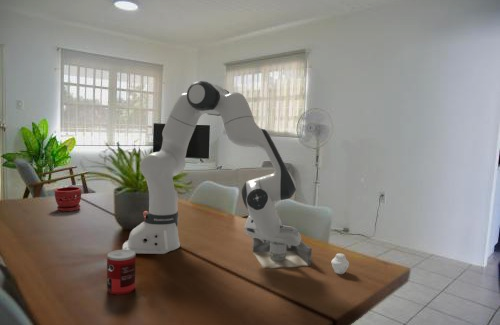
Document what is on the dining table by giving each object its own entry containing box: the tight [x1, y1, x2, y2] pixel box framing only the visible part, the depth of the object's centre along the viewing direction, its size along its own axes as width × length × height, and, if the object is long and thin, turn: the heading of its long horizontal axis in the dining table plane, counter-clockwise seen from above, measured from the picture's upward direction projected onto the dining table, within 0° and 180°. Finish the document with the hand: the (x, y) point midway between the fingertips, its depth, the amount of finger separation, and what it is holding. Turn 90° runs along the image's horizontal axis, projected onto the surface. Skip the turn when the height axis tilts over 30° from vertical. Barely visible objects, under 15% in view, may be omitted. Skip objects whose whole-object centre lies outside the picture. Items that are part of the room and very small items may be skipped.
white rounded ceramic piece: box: [331, 253, 350, 275], centre depth 123 cm, size 6×6×7 cm
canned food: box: [106, 248, 137, 296], centre depth 103 cm, size 8×8×11 cm
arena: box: [252, 237, 313, 270], centre depth 134 cm, size 18×16×7 cm
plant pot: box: [54, 186, 82, 212], centre depth 194 cm, size 13×13×12 cm
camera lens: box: [270, 241, 286, 261], centre depth 132 cm, size 6×6×8 cm
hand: (277, 243), depth 131 cm, fingers open, 8 cm apart
